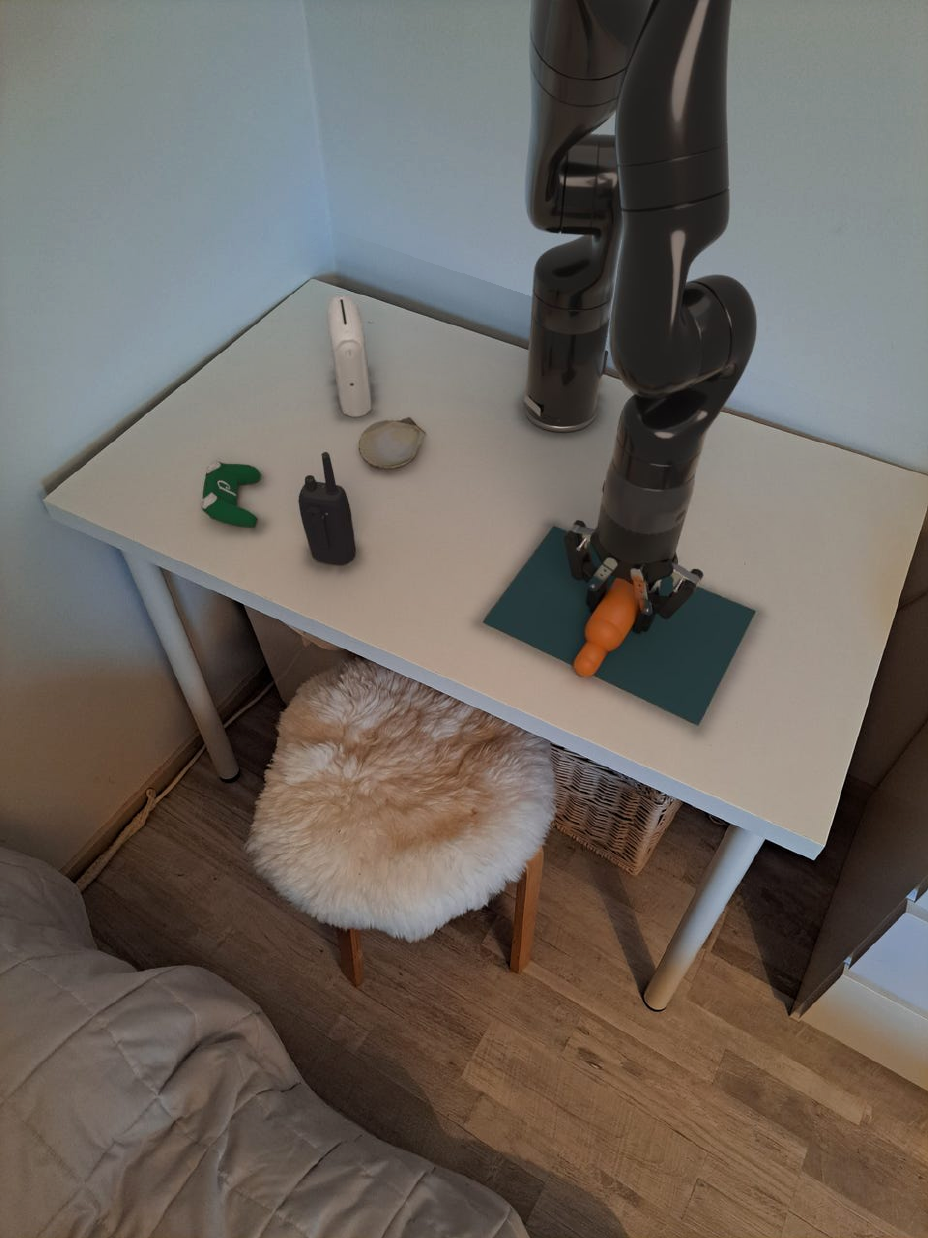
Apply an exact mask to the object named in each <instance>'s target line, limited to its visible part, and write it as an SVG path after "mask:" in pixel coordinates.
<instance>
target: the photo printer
mask: <svg viewBox="0 0 928 1238" xmlns="http://www.w3.org/2000/svg"><path fill="white" fill-rule="evenodd" d="M326 319H327V329H328V337H329V342H330V348H331V354H332V362H333V366H334V373H335V381H336V387H337V388H336V389H337V395H338V399H339V404H340V408H341V411H342V413H343V414H344V415H347V416H349V417H353V418H357V417H363V416H366V415H367V414H368V413H369V412H371V410H372V391H371V381H370V380H371V379H370V370H369V363H368V355H367V354H368V353H367V347H366V346H367V345H366V339H365V329H364V325H363V320H362V319H363V318H362V315H361V312H360V308H359V306H358V305H357V302H356V301H355V300H354V299H352V297H351V296H349V295H342V296H340V295H339V296H338V295H336V296H334V297H333V298H332V299H331V300H330V302H329V304H328V307H327V309H326Z"/></svg>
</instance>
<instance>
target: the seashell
mask: <svg viewBox="0 0 928 1238" xmlns="http://www.w3.org/2000/svg"><path fill="white" fill-rule="evenodd" d="M426 436H427V433H426V431H425V430H423V428H421V427H420V426H419V425H417V423H416V422H415V421H414V420H413V418H412V417H409V416H407V417H405V418H402V419H401V420H393V419H392V420H390V419H389V420H388V419H387V420H380V421H377V422H374V423H372V424H371V425H369V426H368V427H366V428H365V430H364V431H363V432H362V434H361V436H360V438H359V441H358V450H359V453H360V456H361V457H362V459H363V460H364V461H365V462H366V463H368V464H369V465H370V466H373V467H374V468H379V469H385V470H388V469H391V470H394V469H395V468H400V467H402V466H405V465H406V464H408V463H410V462H411V460H413V459H414V457H415V456H416V453H417V451H418V449H419V447H420V445H421V443H422V442H423V441H424V439H425V438H426Z"/></svg>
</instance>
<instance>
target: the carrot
mask: <svg viewBox="0 0 928 1238" xmlns="http://www.w3.org/2000/svg"><path fill="white" fill-rule="evenodd" d="M639 610H640V603H639V599H637V598H636V595H635V589H634V585H632V584H630V583H629V582H627V581H625V580H624V579H620V578H616V579H615V581H614V582H613V584H612V585H611V587H610V588H609V590H608V591H607V593H606V594H605V596H604V597H603V599H602V601H601V602H600V604H599V605H598V607H597V608H596V610H595V611H594V613H593V614H592V616H591V617H590V619H589V620H588V622H587V624H586V626H585V638H586V643H585V644H584V646H583V648H582V649H581V651H580V652H579V654H578V655H577V657H576V658H575V661H574V666H573V669H574V671H575V672H576V674H577V675H578V676H580V677H582V678H583V677H584V678H589V677H592V676H594V675H593V674H595V672H596V671H597V669H598V668H599V666H600V665H601V663H602V661H603V660H604V658H605V657H606V655H607V653H608V652H609V651H612V650H615V649H616V648H617V647H619V646H620V644H621V643H622V642H623V640H624V638H625V637H626V635H627V633H628V632H629V630H630V629H631V627H632V625H633V624H634V622H635V620H636V619H637V615H638V611H639Z"/></svg>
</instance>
